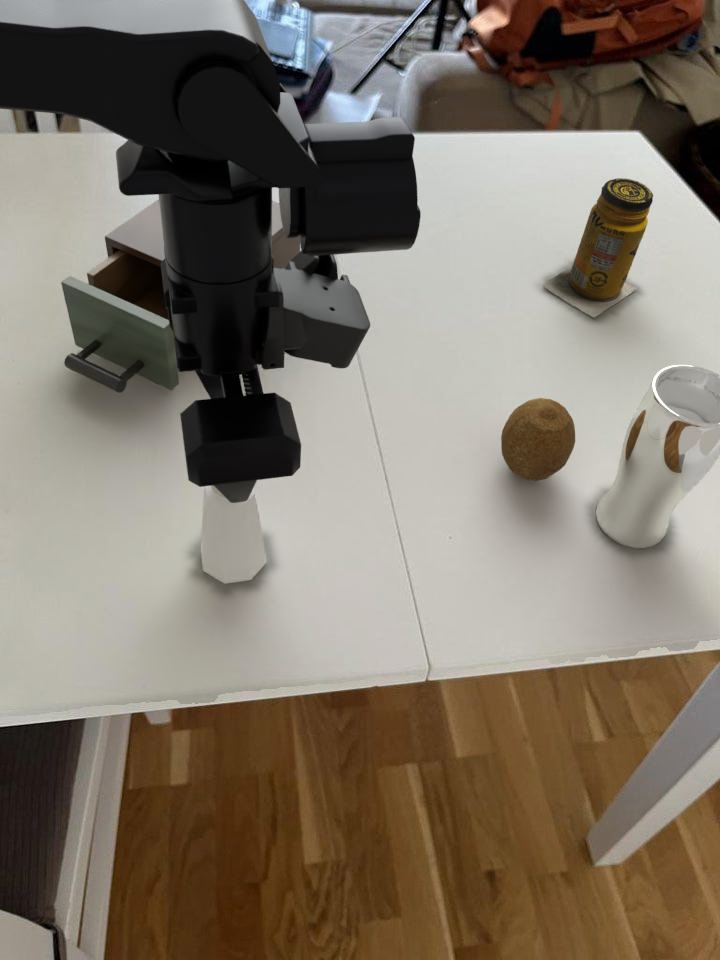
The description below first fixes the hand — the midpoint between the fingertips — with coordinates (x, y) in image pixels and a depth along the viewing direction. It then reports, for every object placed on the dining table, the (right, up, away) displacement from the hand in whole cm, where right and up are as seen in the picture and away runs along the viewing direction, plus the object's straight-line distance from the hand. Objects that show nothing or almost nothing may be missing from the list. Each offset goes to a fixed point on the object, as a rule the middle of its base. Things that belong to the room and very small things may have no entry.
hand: (229, 448), depth 57 cm
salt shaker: (-1, -8, +9) cm, 13 cm away
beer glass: (+32, -6, +15) cm, 36 cm away
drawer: (-11, +11, +24) cm, 29 cm away
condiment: (+35, +19, +37) cm, 55 cm away
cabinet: (-7, +17, +30) cm, 35 cm away
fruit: (+24, -1, +18) cm, 30 cm away
